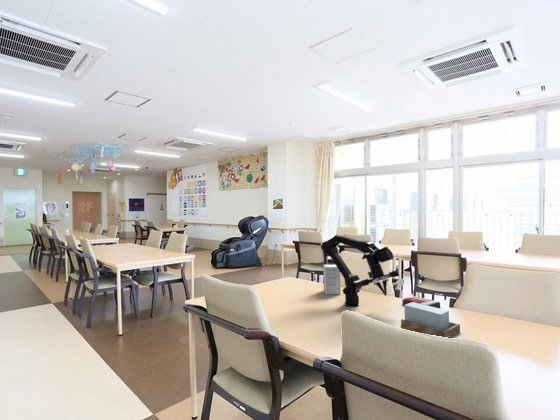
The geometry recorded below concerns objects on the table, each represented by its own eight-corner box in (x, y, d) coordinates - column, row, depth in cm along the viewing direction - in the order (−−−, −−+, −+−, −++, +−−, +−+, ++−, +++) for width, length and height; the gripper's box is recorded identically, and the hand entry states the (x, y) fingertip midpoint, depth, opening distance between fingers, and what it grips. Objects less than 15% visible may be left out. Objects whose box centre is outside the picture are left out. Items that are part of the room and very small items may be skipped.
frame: (401, 326, 135) (401, 319, 135) (417, 319, 143) (417, 312, 143) (443, 340, 120) (443, 332, 120) (460, 331, 129) (459, 324, 129)
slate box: (404, 324, 137) (404, 305, 137) (412, 321, 141) (412, 301, 141) (441, 336, 124) (441, 314, 124) (449, 332, 129) (448, 310, 129)
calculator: (415, 295, 171) (440, 300, 158) (415, 303, 171) (440, 309, 158) (401, 298, 166) (426, 304, 153) (402, 306, 166) (427, 312, 153)
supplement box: (340, 294, 186) (340, 267, 186) (325, 294, 186) (325, 267, 186) (337, 290, 196) (337, 264, 196) (323, 290, 196) (323, 264, 196)
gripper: (390, 260, 163) (401, 289, 159) (356, 270, 166) (366, 299, 162) (393, 259, 152) (405, 290, 148) (356, 270, 155) (367, 301, 151)
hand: (385, 295), depth 152 cm, fingers closed
